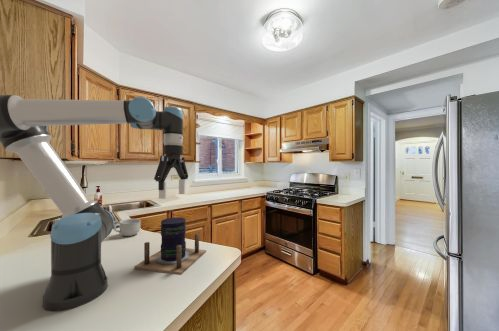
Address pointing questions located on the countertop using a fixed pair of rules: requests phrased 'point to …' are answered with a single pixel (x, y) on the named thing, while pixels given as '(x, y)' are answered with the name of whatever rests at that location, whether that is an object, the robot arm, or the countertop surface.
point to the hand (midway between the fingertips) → (173, 196)
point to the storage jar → (172, 238)
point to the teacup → (129, 227)
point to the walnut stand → (174, 266)
